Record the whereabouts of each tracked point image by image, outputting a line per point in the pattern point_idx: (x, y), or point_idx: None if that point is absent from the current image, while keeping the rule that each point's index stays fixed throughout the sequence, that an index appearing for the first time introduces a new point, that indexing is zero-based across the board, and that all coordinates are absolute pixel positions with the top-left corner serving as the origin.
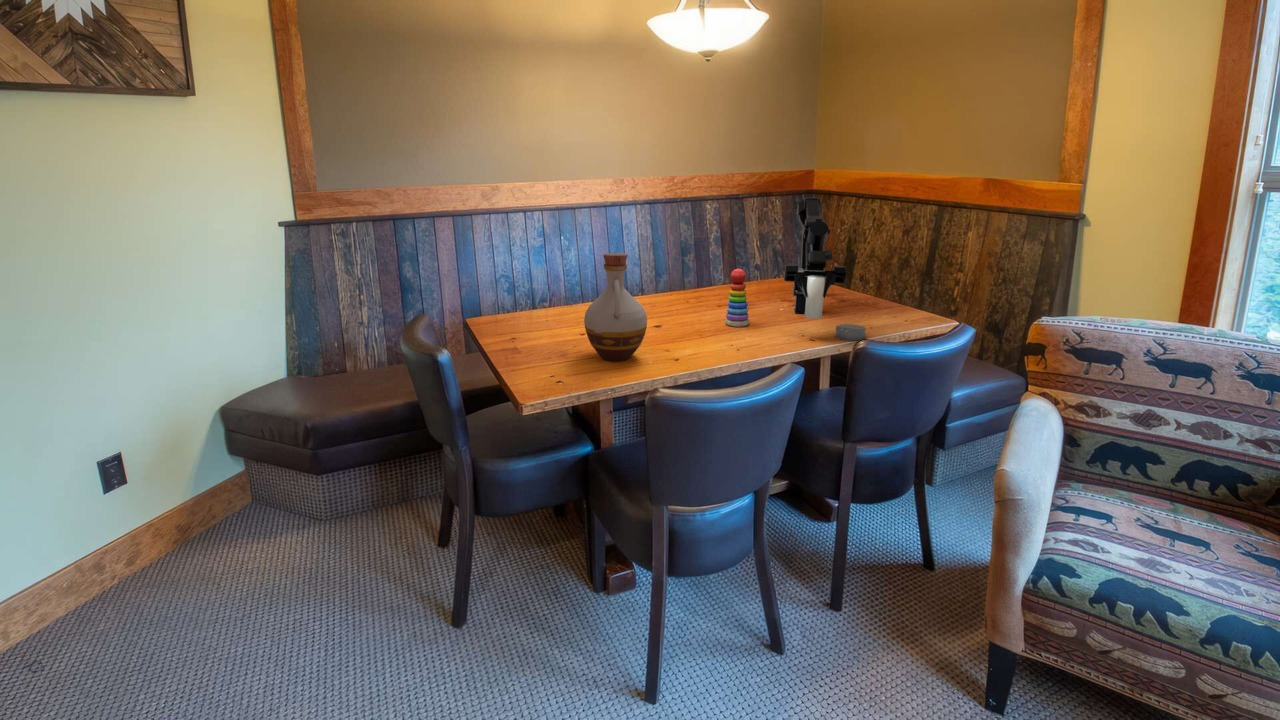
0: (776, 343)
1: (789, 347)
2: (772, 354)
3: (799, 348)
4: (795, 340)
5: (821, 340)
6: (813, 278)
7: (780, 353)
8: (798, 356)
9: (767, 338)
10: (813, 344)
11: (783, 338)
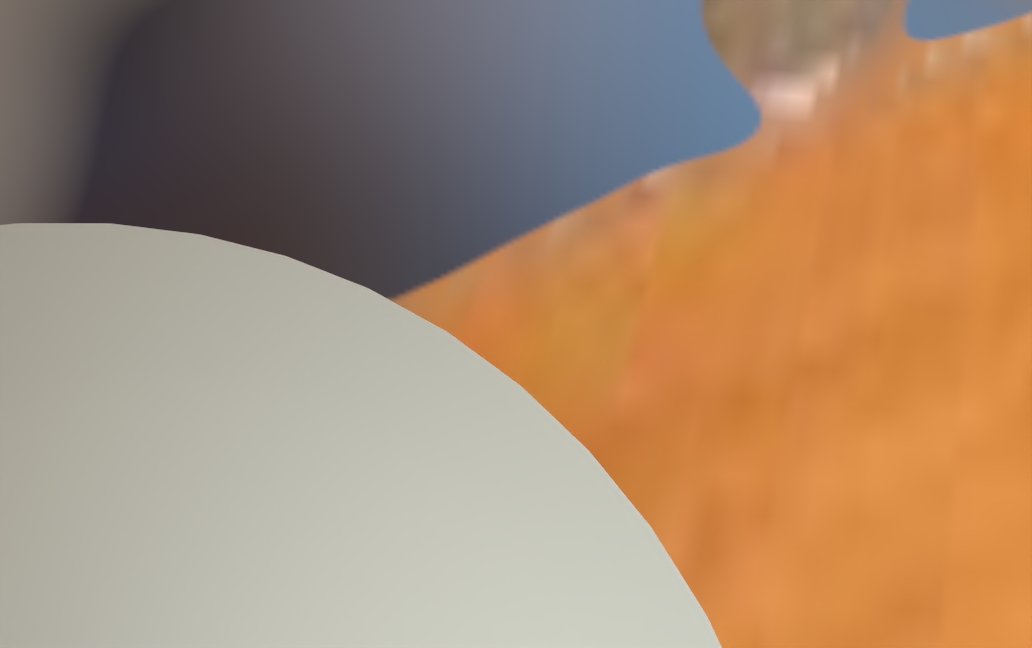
0: (868, 409)
1: (756, 265)
2: (944, 83)
3: (665, 227)
4: (639, 509)
5: None
6: (469, 419)
7: (871, 102)
8: (727, 16)
9: (947, 613)
10: (483, 346)
11: (761, 602)
